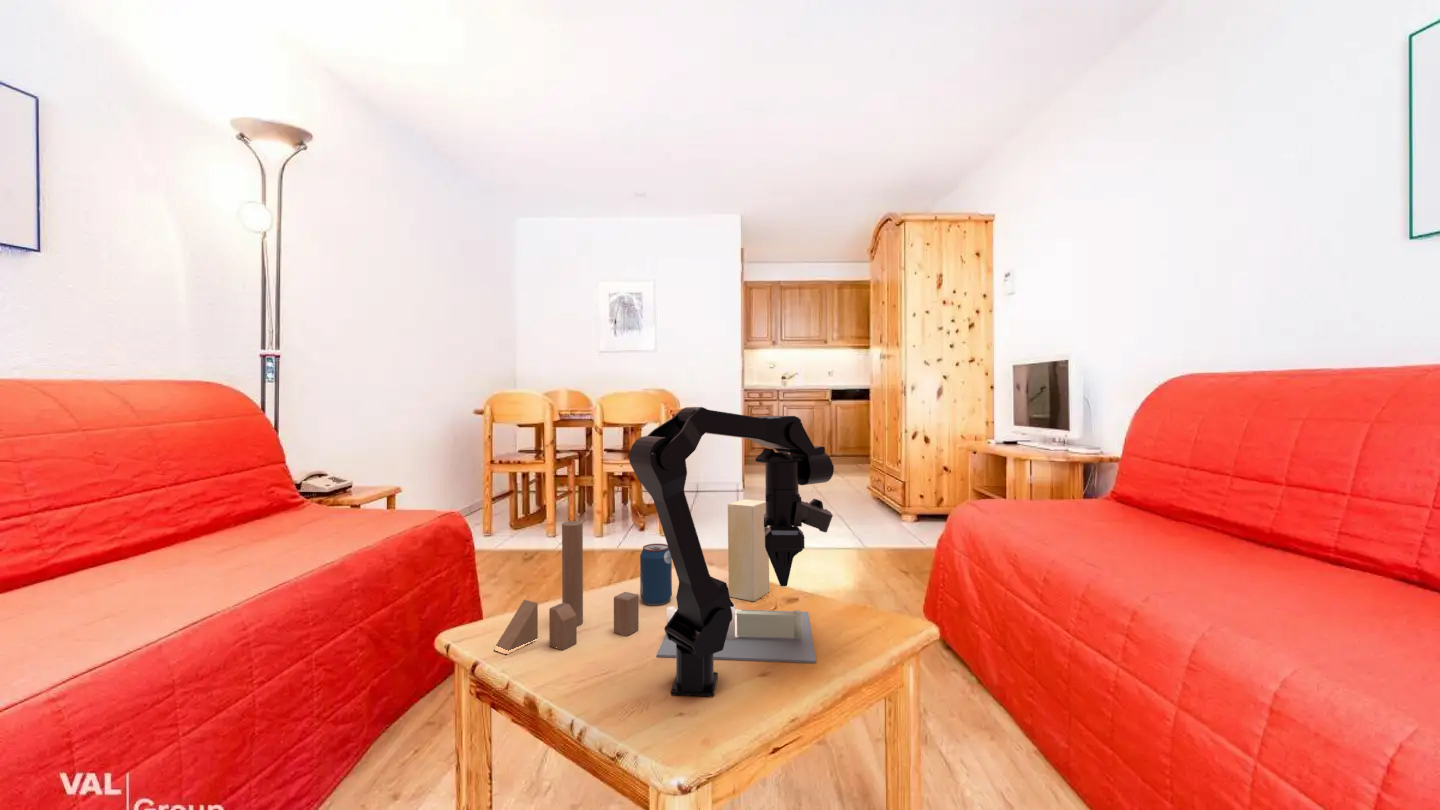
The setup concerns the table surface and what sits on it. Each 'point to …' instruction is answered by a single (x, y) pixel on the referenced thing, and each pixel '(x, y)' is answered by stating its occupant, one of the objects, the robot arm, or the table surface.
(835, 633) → the table surface
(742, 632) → the swinging fence panel
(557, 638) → the wooden blocks
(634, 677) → the table surface
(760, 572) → the tall beige block
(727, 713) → the table surface
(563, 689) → the table surface
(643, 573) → the soda can
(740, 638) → the card
